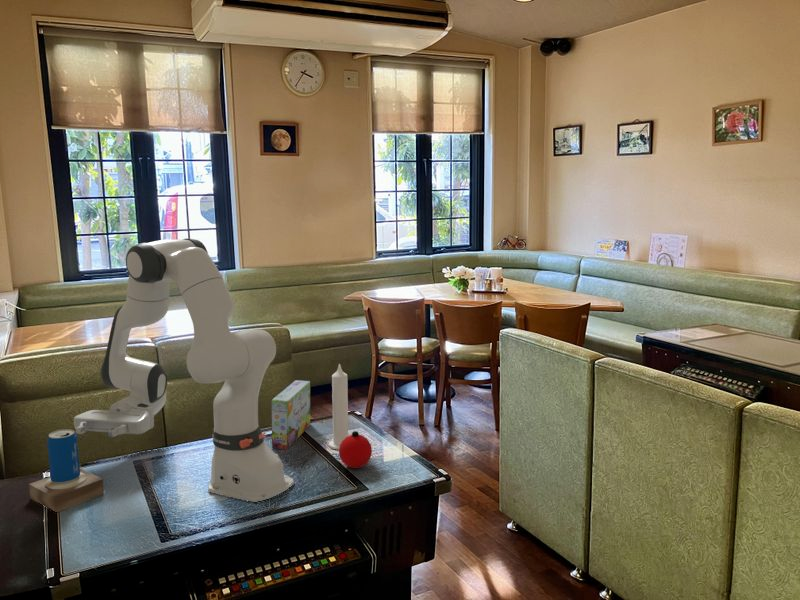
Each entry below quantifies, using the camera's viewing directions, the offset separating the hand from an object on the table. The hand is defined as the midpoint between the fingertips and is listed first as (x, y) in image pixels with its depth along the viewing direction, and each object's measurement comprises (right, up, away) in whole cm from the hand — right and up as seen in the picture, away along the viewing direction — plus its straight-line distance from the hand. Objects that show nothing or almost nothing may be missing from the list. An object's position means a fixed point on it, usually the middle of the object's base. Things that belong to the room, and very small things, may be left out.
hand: (94, 432), depth 168 cm
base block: (-2, -14, -10) cm, 17 cm away
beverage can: (-2, -10, -10) cm, 14 cm away
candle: (+63, -9, +23) cm, 67 cm away
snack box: (+47, -8, +30) cm, 56 cm away
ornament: (+68, -11, +8) cm, 69 cm away
